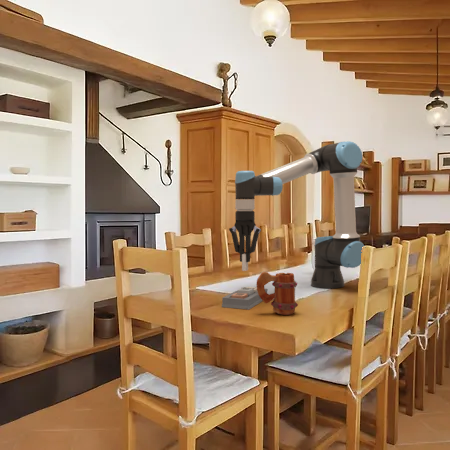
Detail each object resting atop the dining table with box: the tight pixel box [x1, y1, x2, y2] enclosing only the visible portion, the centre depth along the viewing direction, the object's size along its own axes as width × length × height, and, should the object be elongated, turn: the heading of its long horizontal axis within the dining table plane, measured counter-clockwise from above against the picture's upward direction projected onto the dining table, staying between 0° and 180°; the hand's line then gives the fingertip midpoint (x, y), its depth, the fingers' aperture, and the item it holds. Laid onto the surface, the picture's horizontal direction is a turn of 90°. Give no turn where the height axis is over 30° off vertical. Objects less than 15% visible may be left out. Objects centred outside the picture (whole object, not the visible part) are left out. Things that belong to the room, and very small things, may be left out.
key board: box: [221, 286, 268, 310], centre depth 181 cm, size 11×22×4 cm, turn 156°
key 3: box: [231, 293, 248, 299], centre depth 175 cm, size 5×5×3 cm
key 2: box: [237, 287, 254, 295], centre depth 181 cm, size 5×5×3 cm
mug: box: [255, 271, 299, 316], centre depth 162 cm, size 15×8×15 cm, turn 92°
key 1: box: [246, 286, 258, 292], centre depth 187 cm, size 5×5×3 cm
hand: (245, 270), depth 180 cm, fingers closed
